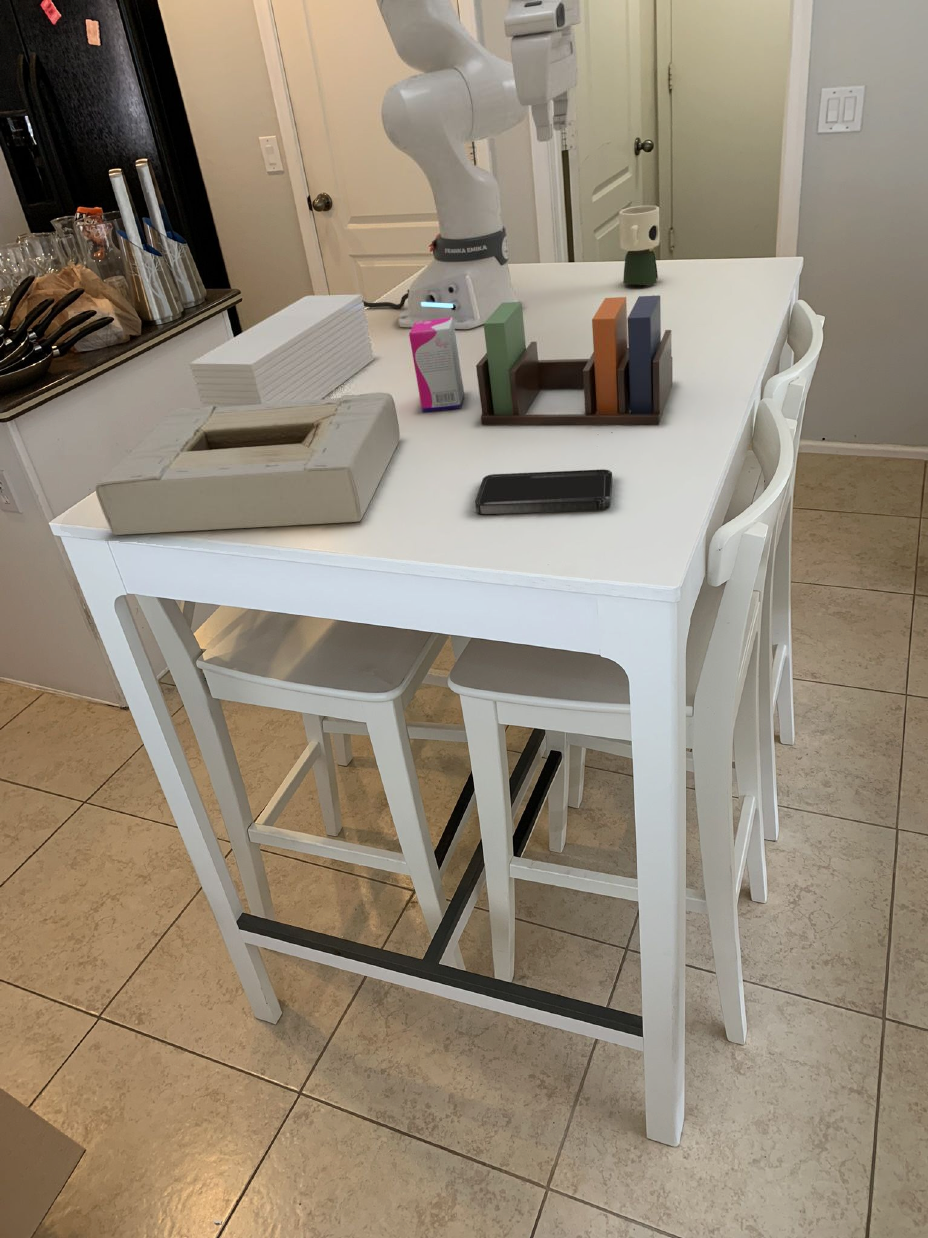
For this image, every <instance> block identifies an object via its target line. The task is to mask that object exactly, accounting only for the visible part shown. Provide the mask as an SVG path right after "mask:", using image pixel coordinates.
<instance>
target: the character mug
mask: <svg viewBox="0 0 928 1238" xmlns="http://www.w3.org/2000/svg"><path fill="white" fill-rule="evenodd" d="M618 214H619V216H618V219H619V247H620V249H622V250H624V251H627V252H626V254H625V257H624V266H623V267H624V268H623V284H625V285H637V287H641V286H647V285H653V284H655V283H656V282H657V280H659V276H658V267H657V260H656V254H655V251H654V248H656V247H659V245H660V242H661V233H660V232H661V231H660V227H661V226H660V224H661V223H660V207H659V206H657V205H651V204H650V205H649V204H648V205H636V206H631V207H626V208H623V209H621V210H619V212H618Z"/></svg>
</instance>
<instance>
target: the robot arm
mask: <svg viewBox="0 0 928 1238" xmlns="http://www.w3.org/2000/svg"><path fill="white" fill-rule="evenodd" d="M375 1H376V4H377V7H378V10H379V13H380V14H381V17H382V20H383V22H384V24H385V27H386V29H387V32H388V33H389V37H390V39H391V41H392V43H393V46H394V48H395V51H396V54H397V55H398V56H399V58H400V60H401V61H402V62H403V63H404V64H405V65H407V66H408V67H410V68H411V69H413V70H415V71H418V72H421V73H419V74H413V75H412V76H410V77H407V78H405V79H403V80H401V81H398V82H396V83H394V84H392V85H390V86H389V87H388V88H387V90H386V92H385V94H384V96H383V100H382V104H381V112H380V113H381V122H382V127H383V130H384V132H385V135H386V136H387V138H388V139H389V141H390V143H391V144H392V145H393V146H394V147H395V148H396V149H397V150H399V151H400V152H402V153H404V154H406V155H407V156H408V157H410V159H412V160H413V161H414V162H415V163H416V164H417V165H418V166H419V168H420V170H421V171H422V172H423V174H424V176H426V179H427V181H428V183H429V186H430V188H431V192H432V196H433V200H434V204H435V210H436V214H437V221H438V228H439V233H437V235H436V236H435V239H433V240H432V241H431V243H430V245H428V247H429V253H431V252H432V255H433V259H432V261H431V262H430V263H429V264H428V265H426V267H425V268H424V269H423V270H422V271H421V272H420V273H419V274H418V276H417V277H416V278H415V279H414V280H413V281H412V283H411V284H410V287H409V289H407V290H406V291H407V293H404V294H403V295H402V296H401V297H400V298H401V299H400V302H399V303H397V304H396V303H393V302H388V301H383V302H381V301H379V302H368V301H365V300H364V299H363V300H362V301H363V303H364V306H363V307H364V308H365V307H366V308H392V309H394V310H399V309H402V308H404V306H405V303H406V300H407V302H408V303H407V308H405V309H404V310H403V311H402V312H401V313H400V315H399V316H398V326H399V327H400V328H412V327H413V325H414V323H415V322H419V321H427V320H435V319H443V318H451V317H453V321H454V327H455V330H470V329H474V328H476V327H479V326H481V325H483V324H484V322H485V321H486V320H487V319H488V318H489V317H490V316H491V315H492V314H493V312H494V311H495V310H496V309H497V308H498V307H499V306H500V305H501V303H507V302H519V301H518V298H517V295H516V292H515V288H514V285H513V281H512V277H511V272H510V269H509V268H510V267H509V263H508V262H509V255H510V252H509V242H508V236H507V231H506V227H505V226H504V225H503V224H504V223H503V215H502V204H501V195H500V194H501V193H500V185H499V183H498V181H497V179H496V177H495V176H494V175H493V174H492V173H491V172H490V171H488V170H487V169H485V168H483V167H480V166H478V165H475V164H472V163H471V162H470V160H469V158H468V155H467V153H466V149H465V148H466V147H465V144H468V143H473V142H478V141H482V140H488V139H492V138H497V137H499V136H502V135H504V134H506V133H508V132H510V131H513V130H514V129H516V128H518V127H520V126H521V125H522V124H524V121H525V119H526V118H527V115H528V112H529V109H531V116H532V119H533V122H534V125H535V131H536V139H537V141H538V142H539V143H541V142H542V143H543V142H549V141H551V139H552V138H553V134H554V133H553V130H554V131H557V132H558V131H564V130H566V129H567V128H568V127H569V117H568V113H569V104H570V90H572V89H573V88H575V87H576V86H578V81H579V79H578V78H579V68H578V57H577V55H578V54H577V43H576V36H575V29H574V27H573V26H575V25H579V24H580V23H581V2H580V1H581V0H508V9H507V12H506V14H505V16H504V18H503V19H504V20H503V26H504V33H505V37H507V38H511V40H510V55H511V56H510V58H511V62H510V61H508V60H505V59H502V58H501V57H499V56H497V55H496V54H494V53H493V52H491V51H489V50H488V49H487V48H486V47H485V46H483V45H482V44H481V43H480V42H479V41H478V40H477V39H476V38H475V37H474V36H473V35H472V34H471V33H470V32H469V31H468V29H467V28H466V27H465V26H464V25H463V23H462V21H461V19H460V18H459V16H458V14H457V12H456V10H455V7H454V6H453V4H452V1H451V0H375ZM550 101H552V105H553V107H552V108H553V116H552V123H551V117H550V115H551V114H550V111H551V103H550Z"/></svg>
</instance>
